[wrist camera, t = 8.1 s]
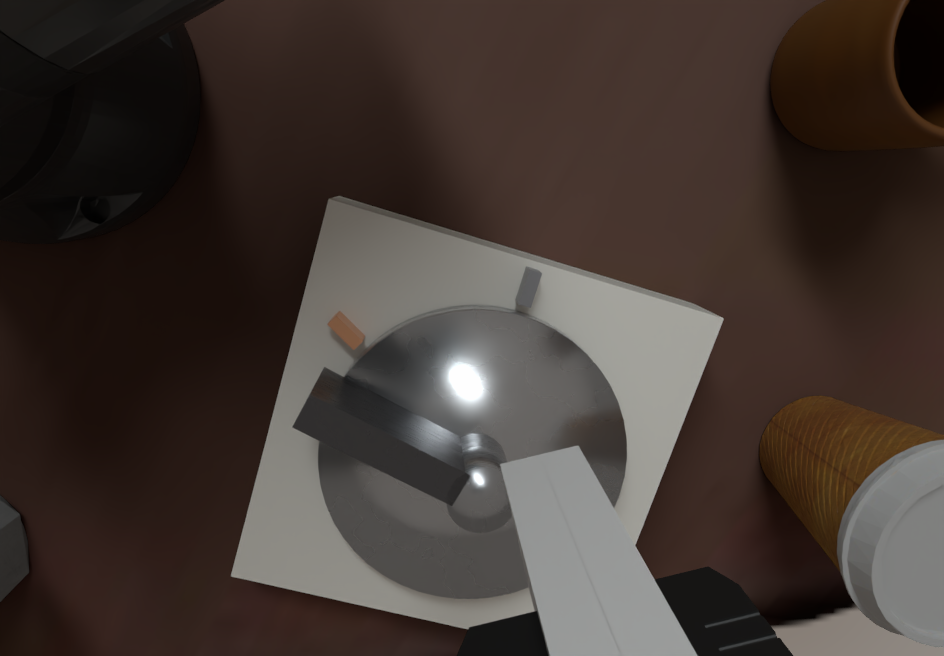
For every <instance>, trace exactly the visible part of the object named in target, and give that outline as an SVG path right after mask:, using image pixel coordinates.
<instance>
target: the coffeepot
mask: <svg viewBox="0 0 944 656" xmlns="http://www.w3.org/2000/svg"><path fill="white" fill-rule="evenodd" d="M28 573H29V558H28V540H27V536H26V532H25V529H24V526H23V524H22V522H21V517H20V514H19V513H18V512H17V511H16V510H15V509H14V508H13V507H12V506H11V505H10V504H9V503H8V502H7V501H6V500H5V499H4V498H3V497H2V496H1V495H0V602H1V601H2V600H3V599H4V598H5V597H6V596H7V595H8V594H9V593H10V592H11V591H12V589H13V588H14V587H15V586H16V585H17V584H18V583H19V582H20V581H21V580H22V579H23V578H24V577H25V576H26V575H27V574H28Z"/></svg>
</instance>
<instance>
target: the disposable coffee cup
mask: <svg viewBox="0 0 944 656" xmlns="http://www.w3.org/2000/svg"><path fill="white" fill-rule="evenodd" d="M759 457H760V463H761V466H762V469H763V471H764V473H765V475H766V477H767V478H768V480H769V481H770V482H771V483H772V484H773V486H774V487H775V488H776V490H777V491H778V492H779V493H780V495H781V496H782V497H783V499H784V500H785V501H786V502H787V504H788V505H789V506H790V507H791V509H792V510H793V511H794V513H795V514H796V515H797V517H798V518H799V519H800V520H801V522H802V523H803V525H804V526H805V527H806V528H807V530H808V531H809V532H810V533H811V535H812V536H813V537H814V539H815V540H816V541H817V542H818V544H819V545H820V546H821V548H822V549H823V550H824V551H825V553H826V554H827V555H828V557H829V558H830V559H831V561H832V562H833V563H834V564H835V566H836V567H837V568H838V570H839V571H840V572H841V575H842V578H843V580H844V583H845V586H846V589H847V591H848V594H849V595H850V597H851V598H852V600H853V601H854V603H855V604H856V606H857V607H858V608H859V609H860V611H861V612H862V613H863V614H864V615H865V616H866V617H868V618H869V619H870V620H871V621H873V622H874V623H875V624H877V625H879V626H880V627H883V628H884V629H886V630H888V631H890V632H893V633H896V634H900V635H903V636H906V637H908V638H910V639H912V640H914V641H916V642H919V643H922V644H926V645H930V646H934V647H944V435H941V434H938V433H935V432H932V431H930V430H927V429H923V428H920V427H917V426H914V425H911V424H908V423H905V422H902V421H899V420H896V419H893V418H890V417H887V416H885V415H881V414H878V413H875V412H872V411H869V410H866V409H863V408H860V407H857V406H854V405H851V404H848V403H845V402H843V401H840V400H837V399H834V398H832V397H826V396H809V397H805V398H802V399H799V400H797V401H794V402H792V403H790V404H788V405H787V406H785V407H784V408H783V409H781V410H780V411H779V412H778V413H777V414H776V415H775V416H774V417H773V418H772V420H771V421H770V423H769V424H768V426H767V427H766V429H765V431H764V433H763V435H762V439H761V443H760V451H759Z"/></svg>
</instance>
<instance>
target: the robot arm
mask: <svg viewBox="0 0 944 656" xmlns="http://www.w3.org/2000/svg"><path fill="white" fill-rule="evenodd" d="M223 1H224V0H0V240H3V241H9V242H18V243H28V244H50V243H60V242H67V241H73V240H78V239H84V238H89V237H94V236H98V235H101V234H105V233H108V232H110V231H113V230H116V229H118V228H120V227H122V226H125V225H127V224H128V223H130V222H132V221H134V220H136V219H137V218H139V217H140V216H142V215H143V214H144V213H146V212H147V211H148V210H150V209H151V208H152V207H153V206H154V205H155V204H156V203H158V202H159V201H160V200H161V199H162V198H163V196H164V195H165V194H166V193H167V192H168V191H169V189H170V188H171V187H172V186H173V184H174V183H175V181H176V180H177V178H178V177H179V175H180V174H181V172H182V170H183V168H184V166H185V164H186V162H187V160H188V158H189V155H190V153H191V150H192V147H193V144H194V141H195V137H196V133H197V128H198V122H199V114H200V82H199V74H198V68H197V63H196V58H195V55H194V51H193V47H192V44H191V41H190V38H189V36H188V33H187V31H186V28H185V26H184V23H186V22H187V21H189V20H191V19H193V18H194V17H196V16H198V15H200V14H202V13H203V12H205V11H207V10H209V9H210V8H212V7H214V6H216V5H217V4H219V3H221V2H223ZM500 466H501V471H502V475H503V479H504V483H505V488H506V492H507V496H508V501H509V505H510V509H511V513H512V518H513V522H514V526H515V531H516V535H517V539H518V543H519V548H520V552H521V556H522V561H523V565H524V569H525V574H526V578H527V582H528V586H529V591H530V595H531V599H532V603H533V607H534V610H535V611H534V612H530V613H526V614H522V615H518V616H514V617H510V618H505V619H501V620H497V621H493V622H489V623H485V624H481V625H477V626H473V627H469V629H468V631H467V634H466V636H465V638H464V641H463V643H462V645H461V648H460V650H459V652H458V654H457V656H793V655H792V653H791V652H790V651H789V650H788V648H787V647H786V646H785V645H784V643H783V642H782V640H781V639H780V638H777V636H776V633H775V631H774V630H773V629H772V627H771V626H770V625H769V623H768V622H767V621H766V620H765V618H764V617H763V616H760V614H759V610H758V609H757V608H756V606H755V605H754V604H753V603H752V601H751V600H750V599H749V597H748V596H747V595H746V593H745V592H744V591H743V589H742V588H741V587H740V586H739V584H737V583H735V582H733V581H732V580H730V579H728V578H727V577H725V576H723V575H722V574H720V573H718V572H717V571H715V570H713V569H712V568H710V567H705V568H700V569H696V570H692V571H688V572H684V573H680V574H676V575H672V576H667V577H663V578H659V579H655V580H654V578H653V576H652V575H651V573H650V571H649V569H648V567H647V566H646V564H645V562H644V560H643V559H642V557H641V555H640V553H639V552H638V550H637V548H636V546H635V545H634V543H633V541H632V539H631V537H630V536H629V534H628V532H627V530H626V529H625V527H624V525H623V523H622V522H621V520H620V518H619V516H618V515H617V513H616V511H615V509H614V507H613V506H612V504H611V502H610V500H609V499H608V497H607V495H606V493H605V492H604V490H603V488H602V486H601V485H600V483H599V481H598V479H597V477H596V476H595V474H594V472H593V470H592V469H591V467H590V465H589V463H588V462H587V460H586V458H585V456H584V455H583V453H582V451H581V449H580V447H579V446H573V447H569V448H565V449H561V450H557V451H552V452H548V453H544V454H540V455H536V456H532V457H527V458H523V459H519V460H515V461H511V462H506V463H502V464H500Z"/></svg>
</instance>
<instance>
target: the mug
mask: <svg viewBox="0 0 944 656" xmlns="http://www.w3.org/2000/svg"><path fill="white" fill-rule="evenodd" d="M770 86H771V96H772V101H773V105H774V108H775V111H776V113H777V115H778V117H779V119H780V121H781V122H782V124H783V125H784V127H785V128H786V129H787V130H788V131H789V132H790V133H791V134H792V135H793V136H794V137H795V138H797V139H798V140H800V141H801V142H803V143H805V144H807V145H810V146H812V147H815V148H818V149H823V150H830V151H856V150H887V149H906V148H925V147H938V146H944V0H826V1H824V2H822V3H820V4H818V5H817V6H815V7H813V8H812V9H811V10H809V11H808V12H806V13H805V14H804V15H803V16H802V17H801V18H800V19H798V20H797V21H796V22H795V23H794V25H793V26H792V27H791V28H790V29H789V30H788V32H787V33H786V35H785V36H784V38H783V39H782V41H781V43H780V45H779V47H778V50H777V52H776V54H775V57H774V61H773V65H772V71H771V83H770Z"/></svg>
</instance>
